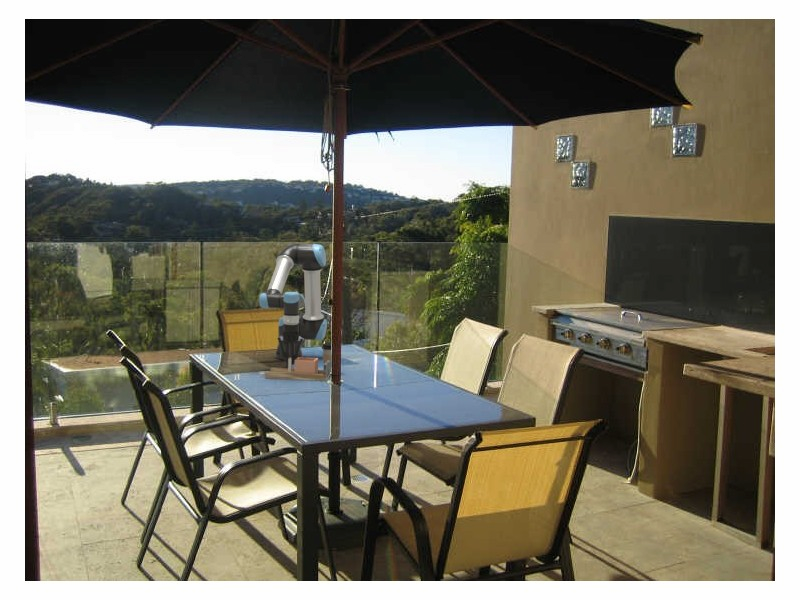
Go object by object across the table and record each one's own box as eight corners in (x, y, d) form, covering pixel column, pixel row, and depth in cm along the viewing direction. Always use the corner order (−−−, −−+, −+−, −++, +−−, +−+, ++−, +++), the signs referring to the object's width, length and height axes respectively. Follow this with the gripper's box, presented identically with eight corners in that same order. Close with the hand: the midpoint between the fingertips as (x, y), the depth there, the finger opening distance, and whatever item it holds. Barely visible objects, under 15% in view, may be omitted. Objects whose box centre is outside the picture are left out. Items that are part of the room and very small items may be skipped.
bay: (270, 373, 414) (271, 357, 413) (329, 376, 411) (330, 360, 411) (264, 378, 402) (265, 362, 401) (325, 381, 400) (326, 364, 399)
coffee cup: (341, 372, 423) (341, 343, 421) (337, 375, 413) (338, 346, 412) (322, 371, 424) (323, 342, 422) (319, 374, 414) (319, 345, 413)
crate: (298, 372, 411) (298, 357, 410) (317, 373, 410) (318, 358, 409) (294, 376, 402) (294, 360, 402) (314, 377, 402) (314, 361, 401)
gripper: (276, 324, 401) (275, 371, 404) (302, 325, 400) (301, 373, 402) (279, 322, 408) (279, 369, 411) (305, 323, 407) (304, 370, 410)
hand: (290, 371), depth 407 cm, fingers closed
